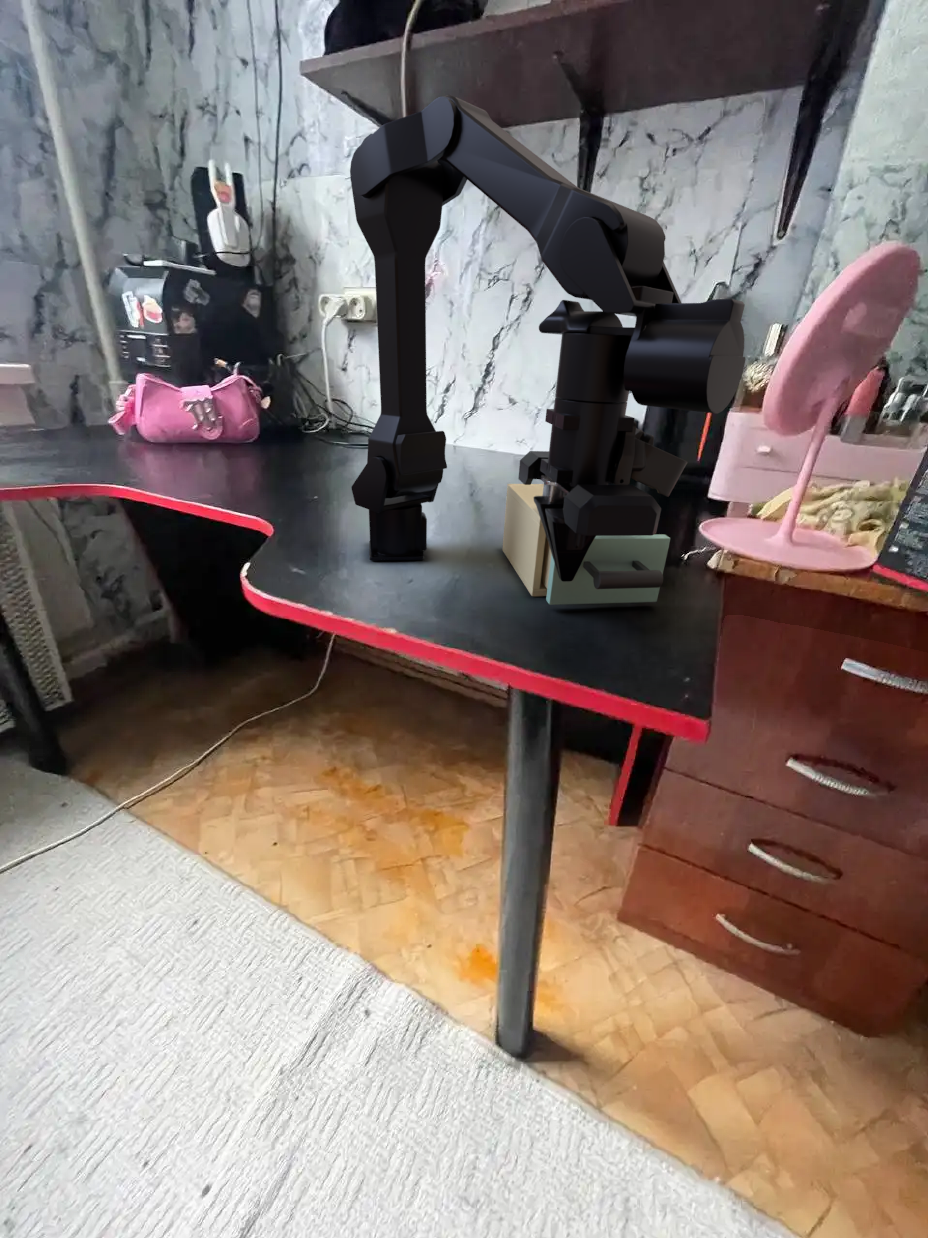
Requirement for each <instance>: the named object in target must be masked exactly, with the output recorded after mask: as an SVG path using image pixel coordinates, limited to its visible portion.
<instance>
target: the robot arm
mask: <svg viewBox="0 0 928 1238" xmlns="http://www.w3.org/2000/svg"><path fill="white" fill-rule="evenodd" d="M349 175H350V185H351V192H352V199H353V205H354V207H353V208H354V214H355V219H356V223H357V226H358V227H359V229H360V232H361V233H362V235H363V237H364V239H365V241H366V243H367V245H368V247H369V250H370V251H371V253H372V255H373V260H374V276H375V279H374V280H375V300H376V301H375V302H376V324H377V325H376V327H377V344H378V345H377V348H378V368H379V369H378V370H379V371H378V372H379V391H380V392H379V393H380V395H379V396H380V415H379V416H378V419H377V421H376V423H375V425H374V426H373V429H372V431H371V433H370V435H369V437H368V440H367V460H366V464H365V466H364V467H363V468H362V470H361V472H360V473H359V475H358V476H357V478H356V479H355V481H354V482H353V483H352V485H351V493H352V496H353V501H354V505H355V506H358V507H361V508H363V509H366V510H368V519H369V520H368V524H369V527H368V528H369V543H368V544H369V545H368V546H369V547H368V548H369V549H368V550H369V551H368V553H369V554H368V555H369V556H368V557H369V559H368V560H369V561H373V562H374V561H422V560H424V559H425V555H424V552H425V551H426V550H427V547H428V546H427V545H428V544H427V541H428V540H427V538H428V537H427V536H428V535H427V533H428V519H427V515H426V513H425V512H424V511H423V505H422V504H426V503H433V502H434V501H435V498H436V494H437V491H438V487H439V484H441V483H442V480H443V478H444V477H443V476H444V470H445V469H448V464H447V461H446V445H447V436H446V432H445V431H444V430H436V428H435V427H434V424H433V422H432V421H431V418H430V417H429V415H428V409H427V408H428V407H427V406H428V405H427V402H428V401H427V322H426V321H427V308H426V307H427V305H426V304H427V302H426V301H427V300H426V260H427V256H428V255H429V252H430V251H431V248H432V246H433V244H434V242H435V240H436V238H437V236H438V234H439V231H440V229H441V223H442V215H443V214H442V213H443V206H445V205H446V204H448V203H450V202H452V201H453V200H454V199H456V198H457V197H459V196H460V195H461V194H462V191H463V189H464V188H465V186H466V183H467V181H468V182H469V183H470V184H472V185H473V186H474V187H476V188H477V190H479V191H480V192H482V194H484V195H485V196H486V197H487V198H488V199H489V200H491V201H492V202H493V203H494V204H495V205H497V207H499V208H500V209H501V210H503V212H505V213H506V214H507V215H508V216H509V217H511V219H513V220H514V221H515V222H516V223H518V224H519V225H520V226H521V227H522V228H524V230H526V231H527V232H528V233H529V235H530V236H531V238H532V239H533V240H534V241H535V243H536V245H537V249H538V252H539V253H538V254H539V256H540V259H541V261H542V263H543V264H544V265H545V267H546V268H547V269H548V271H549V272H550V273H551V274H552V275H553V278H554V279H555V280H556V281H557V283H558V284H559V285H560V287H561V288H562V289H563V291H564V292H565V293H567V294H568V295H569V296H572V297H574V298H575V299H576V298H577V299H583V300H584V299H585V300H589V301H592V302H593V303H594V304H595V305H596V306H597V307H598V308H599V309H600V311H599V310H590V311H589V310H588V311H587V310H584V309H583V307H582V305H581V303H580V302H579V301H576V300H575V301H574V300H568V299H562V300H560V302H559V304H558V305H557V307H556V308H555V310H554V311H552V312H551V313H550V314H549V315H547V316H546V317H545V319H543V320H542V321H541V322H540V323H539V325H538V330H539V332H540V334H548V335H549V334H551V335H561V338H560V339H561V341H560V350H559V357H558V358H559V359H558V367H557V376H556V385H555V394H554V402H553V404H554V405H553V408H546V409H545V410H546V411H545V422H546V423H547V424H549V425H551V430H550V431H551V432H550V438H549V439H550V440H549V447H548V448H549V449H548V451H547V450H545V451H544V450H529V451H528V452H527V453H526V454H525V455H524V456H523V457H522V458H521V459H520V460H519V467H518V478H517V479H518V481H520V482H521V484H524V485H531V484H533V483H532V482H533V480H539V481H542V482H543V484H544V487H543V496H535V497H534V503H535V504H536V506H537V509H538V512H539V515H540V518H541V521H542V524H543V527H544V530H545V534H546V537H547V540H548V543H549V546H550V549H551V553H552V556H553V559H554V563H555V566H556V569H557V572H558V576H559V578H560V579H561V581H563V582H568V581H572V580H573V579H574V577H575V575H576V573H577V571H578V569H579V567H580V565H581V563H582V561H583V559H584V557H585V555H586V553H587V551H588V549H589V547H590V545H591V544H592V542H593V540H594V538H595V537H596V536H640V535H654V534H655V535H656V534H657V531H658V526H659V521H660V516H661V512H662V507H661V506H660V505H659V504H658V502H657V500H656V499H655V498H654V497H653V495H651V494H649V493H648V492H646V491H644V490H642V489H640V488H638V487H637V486H635V485H633V484H630V482H631V479H632V480H634V481H635V482H637V483H640V484H641V485H645V487H648V488H650V489H653V490H654V489H655V490H656V491H657V493H658V494H660V495H661V496H664V497H668V498H669V496H670V495H671V493H672V491H673V489H674V488H675V485H676V484H677V482H678V480H679V479H680V477H681V475H682V473H683V471H684V469H685V468H686V466H687V464H688V461H687V460H684V459H683V458H680V457H679V456H675V455H674V454H672V453H669V452H667V451H665V450H662V449H660V448H658V447H656V446H654V441H655V436H654V435H653V434H650V433H648V432H646V431H643V430H642V429H640V428H637V425H638V424H637V421H635V419H636V418H635V417H632V416H630V415H626V412H627V408H628V401H629V395H630V392H631V395H632V397H633V399H634V401H635V402H636V403H637V404H638V405H640V406H646V407H654V408H663V409H672V410H679V411H680V410H681V411H689V412H697V413H698V412H699V413H708V414H716V415H717V414H719V413H721V412H723V411H724V410H725V408H727V407H728V406H729V404H730V402H731V401H732V399H733V398H734V396H735V394H736V392H737V389H738V387H739V384H740V382H741V378H742V376H743V372H744V370H745V369H744V368H745V364H746V357H745V356H744V354H745V353H744V352H745V330H744V327H743V324H742V319H743V314H744V310H745V303H744V301H742V300H738V299H733V298H715V299H710V300H706V301H703V302H682V301H681V298H680V296H679V294H678V292H677V289H676V286H675V285H674V283H673V280H672V277H671V275H670V273H669V271H668V268H667V266H666V263H665V261H664V260H665V255H666V250H665V249H666V248H665V246H666V245H665V242H666V239H667V237H666V234H665V232H664V229H663V227H662V226H661V224H660V223H659V222H658V221H657V220H656V219H655V218H653V217H651V216H649V215H647V214H644V213H641V212H639V211H637V210H634V209H633V208H632V209H631V208H629V207H628V206H625V205H622V204H619V203H617V202H615V201H612V200H609V199H607V198H605V197H602V196H599V195H597V194H595V193H592V192H590V191H587V190H584V189H582V188H580V187H578V186H577V185H575V184H574V183H573V182H572V181H570V180H569V179H568V178H566V177H565V176H564V175H562V174H561V173H560V172H559V171H557V170H556V169H555V168H553V167H552V166H551V165H550V164H548V163H547V161H545V160H544V159H542V158H541V157H539V156H538V155H537V154H536V153H534V151H532V150H530V149H529V148H528V147H526V146H525V145H524V144H523V143H521V142H520V141H519V140H518V139H516V138H515V137H514V136H512V135H511V134H510V133H508V132H507V131H506V130H505V129H504V128H503V127H501V126H500V125H498V124H497V123H496V122H495V121H493V120H492V118H491V117H490V115H489V113H488V112H487V110H485V109H483V108H480V107H478V106H476V105H474V104H472V103H469V102H468V101H465V100H463V99H461V98H459V97H456V96H454V95H451V94H447V95H444V96H442V95H440V96H438V97H436V98H435V99H433V100H432V101H431V102H430V103H429V104H428V105H426V106H425V107H424V108H423V109H422V110H420V111H417V112H415V113H411V114H409V115H406V116H403V117H401V118H397V119H394V120H392V121H389V122H386V123H384V124H381V126H380V127H378V128H377V129H376V130H375V131H374V132H373V133H370V134H368V135H367V136H366V137H365V138H364V139H363V140H362V142H361V143H360V145H359V146H358V147H357V148H356V149H355V151H354V152H353V154H352V158H351V161H350V166H349ZM618 315H622V316H628V317H635V324H634V327H632V326H631V327H629V326H628V327H627V326H623V324H622V321H621V319H620V318H619V317H618Z"/></svg>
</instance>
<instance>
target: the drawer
mask: <svg viewBox="0 0 928 1238" xmlns="http://www.w3.org/2000/svg"><path fill="white" fill-rule="evenodd" d="M670 542H671V537H669V536H668V535H667V534H662V533H661V534H655V535H640V536H596V537H595V538H594V540H593V542H592V544H591V545H590V547H589V549H588V551H587V553H586V555H585V557H584V559H583V561H582V563H581V565H580V567H579V569H578V571H577V573H576V575H575V577H574V579H573V580H572V581H568V582H563V581H561V579H560V578H559V576H558V572H557V569H556V566H555V563H554V559H553V556H552V553H551V549H550V546H549V543H548V540H547V537H545V546H544V555H543V564H542V573H541V581H542V582H543V584H544V585H545V587H546V588H547V596H545V600H546V602H547V604H548V605H550V606H552V605H553V606H557V605H560V606H561V605H591V604H594V605H595V604H597V605H598V604H630V603H656V602H658V597H659V593H660V588H661V587H662V585H663V583H664V570H665V566H666V561H667V557H668V552H669V548H670Z"/></svg>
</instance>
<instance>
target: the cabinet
mask: <svg viewBox="0 0 928 1238" xmlns="http://www.w3.org/2000/svg"><path fill="white" fill-rule="evenodd" d="M543 487H544V483H531V485H524V484H523V483H507V485H506V499H505V511H504V525H503V526H504V527H503V538H502V552H503V553H504V555H505V556H506V557H505V558H507V560H508V562H509V563H510V564H511V566H512V568H513V569H514V571H515V572H516V574H517V576H518V577H519V579H520V580H521V582H522V583H523V585H524V587H525V588H526V589H527V591H528V593H529V594H530V596H531V597H547V588H546V587H545V585H544V584H543V582H542V581H541V573H542V564H543V555H544V546H545V537H546V534H545V530H544V527H543V524H542V521H541V518H540V515H539V512H538V509H537V506H536V504H535V503H534V497H535V496H543ZM654 535H656V533H655V534H654Z"/></svg>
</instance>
